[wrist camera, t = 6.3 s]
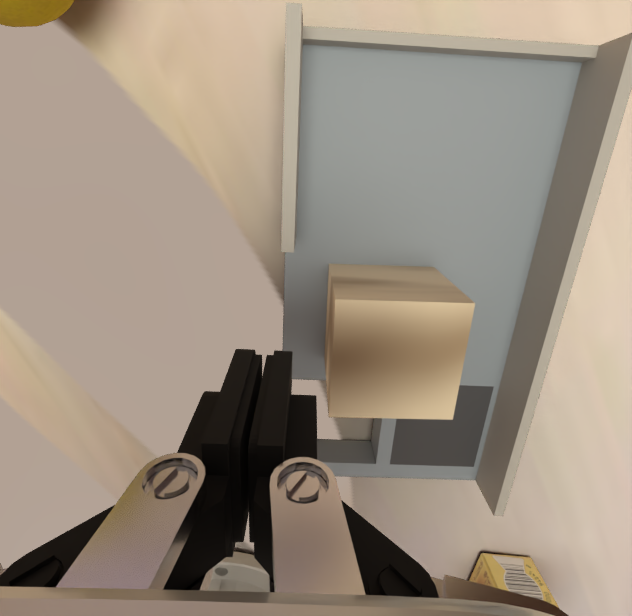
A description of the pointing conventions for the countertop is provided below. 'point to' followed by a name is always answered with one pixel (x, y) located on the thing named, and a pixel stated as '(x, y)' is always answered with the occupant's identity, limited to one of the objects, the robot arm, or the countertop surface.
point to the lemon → (31, 11)
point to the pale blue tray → (446, 213)
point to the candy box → (511, 575)
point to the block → (394, 342)
